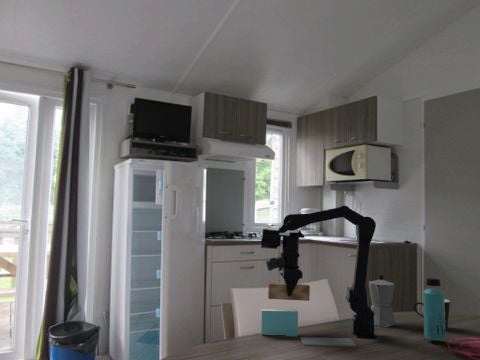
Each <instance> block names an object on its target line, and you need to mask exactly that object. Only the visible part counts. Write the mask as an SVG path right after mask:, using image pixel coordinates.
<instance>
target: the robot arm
mask: <svg viewBox="0 0 480 360" xmlns="http://www.w3.org/2000/svg"><path fill="white" fill-rule="evenodd" d="M340 218H344V219H345V220H347V222H349V223H351V224H352V225H354V226H355V234H356V240H357V245H356V246H357V247H356V253H355V254H356V255H355V263H354V270H353V271H354V273H353V282H352V285H351V287H349V286H347V287H346V293H347V294H346V296H345V299H346V301H347V304H348V306H349V308H350V309H351V311H352V312H354V313H355V314H352V319H351V321H350V322H351V325H350V327H351V328H350V329H351V333H352V334H353V335H354V336H355V337H356V338H373V339H374V338H377V335H376V334H375V325H374V312H373V311H372V310H371V306H369V304H368V295H367V288H366V282H367V273H368V266H369V265H368V264H369V256H370V245H371V241H372V239H373V237H374V234H375V232H376V228H377V227H376V226H377V223H376V221H375V220H374V219H373V218H372V217H370V216H364V215H363V214H360V213H359V212H357V211H355V210H353V209H351V208H350V207H349V206H347V205H341V206H339V207H333V208H330V209H329V208H328V209H325V210H320V211H316V212H310V213H290V214H287V215H285V216H284V218H283V221H282V223H283V224H282V225H281V226H280V227H279V228H278V229H277V230H275V229H268V228H263V229H262V235H261V236H262V237H261V240H260V241H261V243H260V244H261V246H260V247H261V249H267V250H268V249H271V250H277V249H278V248H279V247H282V249H281V250H282V251H281V252H280V256H276V257H272V258H271V257H270V258H269V259H267V260H265V264H266V267H267V270H268V272H270V271H273V270H275V269H277V270H278V272H279V274H280V276H281V278H282V279H283V280H284V284H286V287H287V295H288V296H291V295H292V293H293V291H294V289H295V287H296V284H298V282H299V280H300V279H301V280H302V279H303V276H304V275H303V272H302V270H301V269H300V265H299V258H300V253H299V250H300V249H299V248H300V238H303V239H305V234H303V232H302V231H301V230H300V229H301V228H305V227H306V226H309V225H311V224H315V223H316V224H317V223H320V222H325V221H331V220H335V219H340ZM296 230H299V231H298V232H294V231H296ZM288 231H289V234H284V233H287V232H288ZM281 244H282V245H281Z"/></svg>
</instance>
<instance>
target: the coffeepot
mask: <svg viewBox="0 0 480 360" xmlns="http://www.w3.org/2000/svg"><path fill="white" fill-rule="evenodd" d="M378 277H379V279H376V280H370V281H368V286H369V293H370V299H371V302H372V303H371V304H372V305H371V306H370V308H371V310H372V311H373V312H374V324H375V325H378V326H377V327H379V326H393V325H394V326H396V323H395V316H394V313H393V312H394V311H393V307H392V302H393V300H394V299H393V298H394V292H395V285H396V284H395V283H393V282H391V281H387V279H385V278H384V275H382V274H379V275H378ZM375 325H374V326H375ZM394 326H393V327H394Z"/></svg>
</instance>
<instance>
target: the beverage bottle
mask: <svg viewBox="0 0 480 360" xmlns="http://www.w3.org/2000/svg"><path fill="white" fill-rule="evenodd" d="M425 285H426V286H429V287H428V288H426V289H424V290H423V292H422V297H423V304H424V306H423V314H422V316H424V318H423V335H424V338H426V339H429V340H433V341H445V340H446V338H447V335H446V331H447V330H446V325H445V304H444V299H445V292H444V291H443V290H441V289H439V288H430V286H431V287H440V286H441V280H440V279H439V278H434V277H433V278H432V277H431V278H430V277H428V278H426V282H425Z"/></svg>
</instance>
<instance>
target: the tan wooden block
mask: <svg viewBox="0 0 480 360" xmlns="http://www.w3.org/2000/svg"><path fill="white" fill-rule="evenodd" d="M310 290H311V286H310V285H309V284H301V283H300V284H299V283H297V284H296V287H295V289H294V291H293V293H292V295H291V296H288V295H287V287H286V284H285V283H282V282H280V283H279V282H268V290H267V291H268V292H267V298H268V299H269V300H286V301H302V302H303V301H307V302H309V301H310V295H311V294H310Z"/></svg>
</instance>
